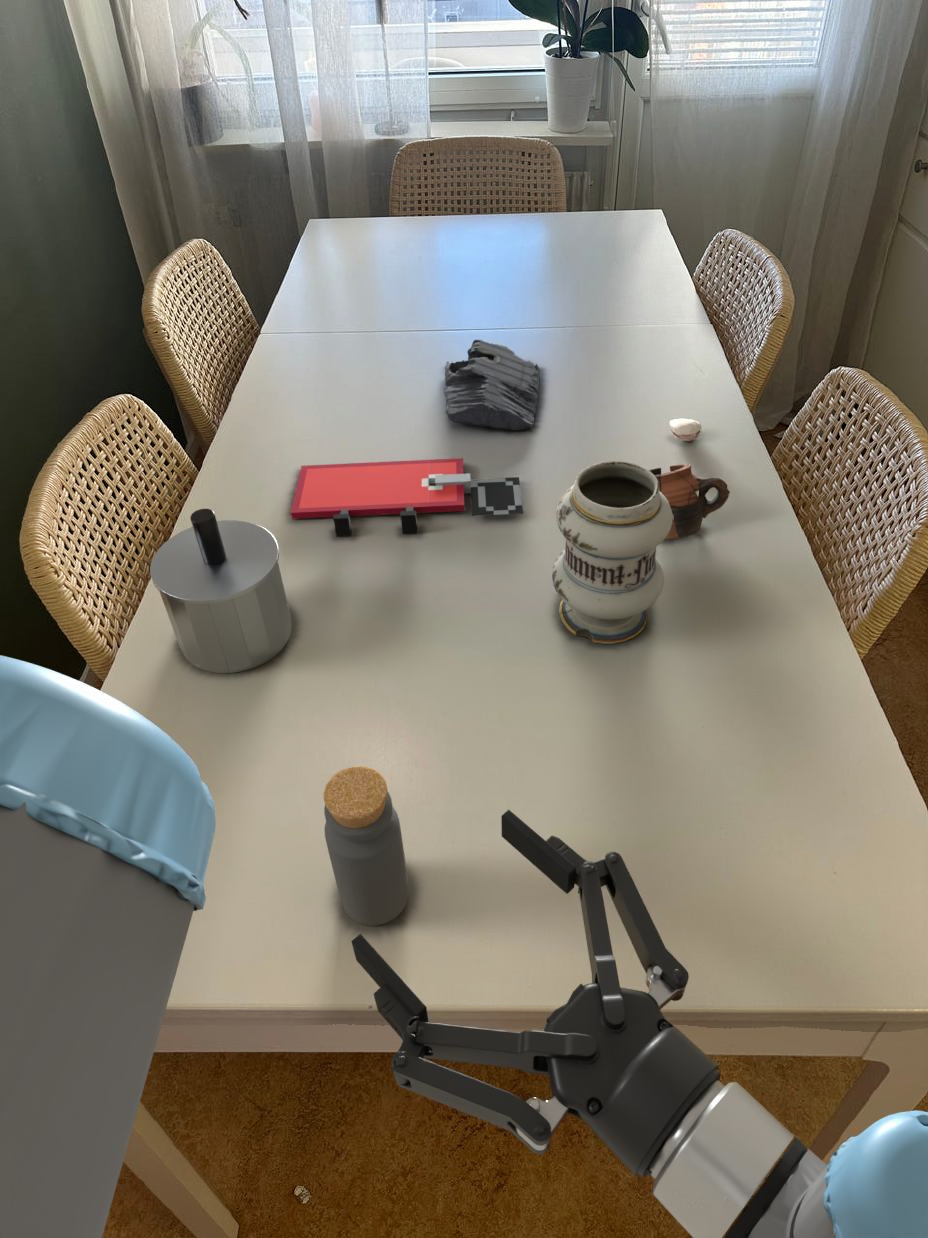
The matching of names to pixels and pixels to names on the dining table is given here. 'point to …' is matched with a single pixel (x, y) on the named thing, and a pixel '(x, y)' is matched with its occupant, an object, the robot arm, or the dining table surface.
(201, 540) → the pot lid
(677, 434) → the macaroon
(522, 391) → the dark slate chunk
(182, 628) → the pot
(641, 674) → the dining table surface
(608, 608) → the apothecary jar
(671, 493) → the pottery mug
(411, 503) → the red board with handle
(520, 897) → the dining table surface
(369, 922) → the bottle
